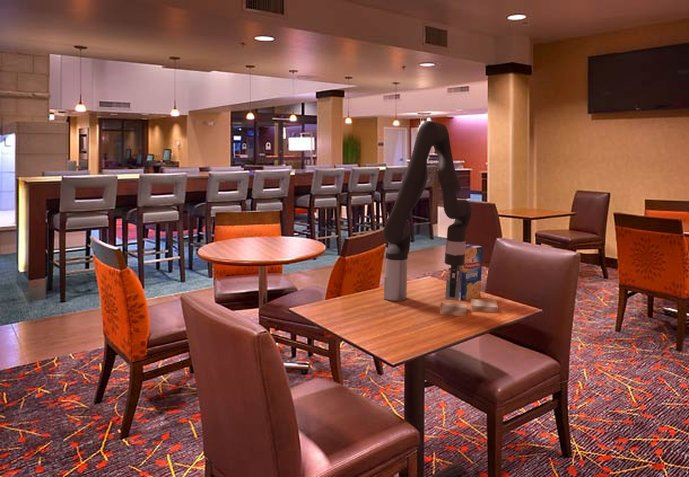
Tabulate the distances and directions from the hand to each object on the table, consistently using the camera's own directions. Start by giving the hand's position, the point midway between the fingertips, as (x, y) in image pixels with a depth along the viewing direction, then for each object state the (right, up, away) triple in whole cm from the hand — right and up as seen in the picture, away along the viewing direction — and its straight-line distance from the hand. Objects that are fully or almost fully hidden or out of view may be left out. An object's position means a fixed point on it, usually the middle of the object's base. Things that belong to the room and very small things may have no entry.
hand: (452, 294), depth 213 cm
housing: (0, -1, 0) cm, 1 cm away
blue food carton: (+10, -3, +23) cm, 25 cm away
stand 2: (+14, -6, +7) cm, 17 cm away
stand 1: (+1, -7, +1) cm, 7 cm away
